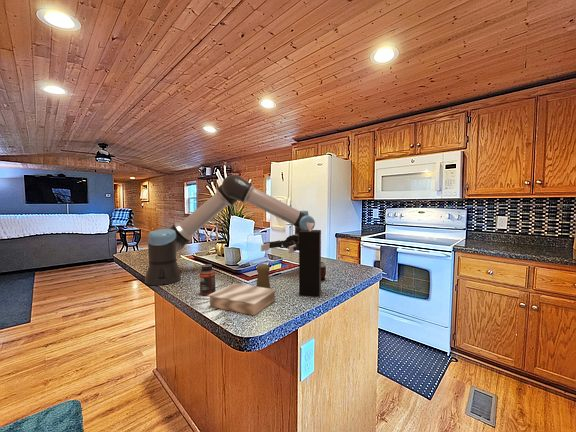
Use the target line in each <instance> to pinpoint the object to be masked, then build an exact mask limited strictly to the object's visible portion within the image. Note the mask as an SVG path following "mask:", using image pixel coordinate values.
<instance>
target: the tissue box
mask: <svg viewBox="0 0 576 432" xmlns="http://www.w3.org/2000/svg"><path fill="white" fill-rule="evenodd" d="M313 226H314V223H307V227H308V229H309V230H301V231H299V251H298V279H299V280H298V289H299V291H298V292H299V293H298V295H299V296H305V297H306V296H307V297H320V295H321V292H322V280H321V262H322V230H321V229H314V228H313ZM314 227H315V226H314ZM312 228H313V229H312Z"/></svg>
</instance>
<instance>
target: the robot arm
mask: <svg viewBox="0 0 576 432" xmlns="http://www.w3.org/2000/svg"><path fill="white" fill-rule="evenodd" d="M221 183H222V184H221V185H219V186H218V187H217V188H216V192H215V193H214V195H212V196H211V197H210V198H208V199H207V200H206V201H205V202H204V203H203V204H201V205H200V206H199V207H197V209H195V210H194V211H193V212H192V213H191V214H190V215H188V216H187V217H186V218H184V219H183V220H182V221H181V222H175V223H173V225H171V226H170V227H169V228H159V229H156V230H155V229H154V230H152V231H150V232H149V233H148V235H147V247H148V248H147V249H148V250H147V251H148V252H147V253H148V254H147V255H148V267H147V271H146V273H145V276H144V284H146V285H148V286H162V285H163V284H165V285H169V284H175V283H177V282H180V281H181V280H182V273H181V272H180V271H181V270H180V268H179V265H178V262H177V252H179V251H181V250H182V249H184V247H186V245H187V244H188V243H190V241H192V240H193V235H194V234H195V233H197V232H198V231H199V230H201V228H203V227H204V226H205V225H206V224H208V223H209V222H210V221H211V220H212V219H214V218H215V216H217V215H218V214H219V213H220V212H222V211H223V210H224V209H225V208H226V207H228V206H229V207H230V206H231V207H232V206H234V205H235V204H236V203H237V202H238V201H240V202H242V203H244V204H245V203H248V204H250V205H252V206H255V207H256V208H259V209H260V210H262V211H264V212H267V213H268V214H270V215H272V216H274V217H277V218H278V219H280V220H282V221H284V222H286V223H289V224H290V225H292V226H294V234H292V235H288V236H287V237H286V238H285V239H284V240H275V241H265V242H263V244H261V245H260V252H265V251H268V250H270V249H276V248H277V249H278V248H280V249H288V254H292V253H294V252H297V251H298V252H299V231H301V230H309V229H308V227H307V223H314V226H313V228H312V230H314V229H315V226H316V221H315V219H314V218H313V217H312V216H311V215H309V211H308V210H298V209H296V208H294V207H293V206H290V205H288V204H286V203H285V202H282V201H280V200H279V199H277V198H275V197H274V196H273V197H272V196H271V195H269V194H267V193H265V192H263V191H261V190H259V189H257V188H255V187H254V184H252V183H250V182H249V181H247V180H246V179H244V178H243V177H242V176H240V175H238V174H230V175H228V176H226V177H225V178H224V179H223V181H222V182H221ZM163 286H164V285H163Z"/></svg>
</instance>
